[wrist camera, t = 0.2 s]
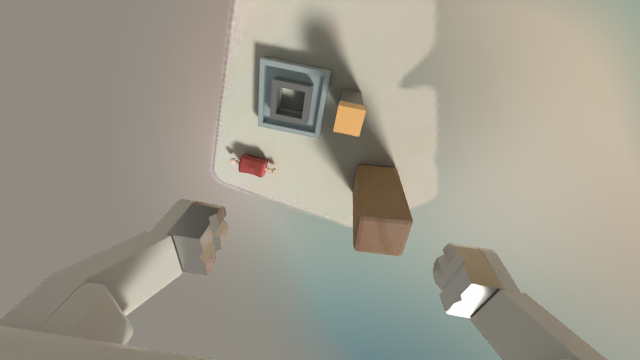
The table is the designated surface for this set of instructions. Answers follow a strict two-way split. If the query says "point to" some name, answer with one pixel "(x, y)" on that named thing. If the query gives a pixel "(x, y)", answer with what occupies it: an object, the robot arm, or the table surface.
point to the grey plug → (350, 113)
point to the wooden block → (379, 211)
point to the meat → (253, 165)
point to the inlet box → (295, 78)
